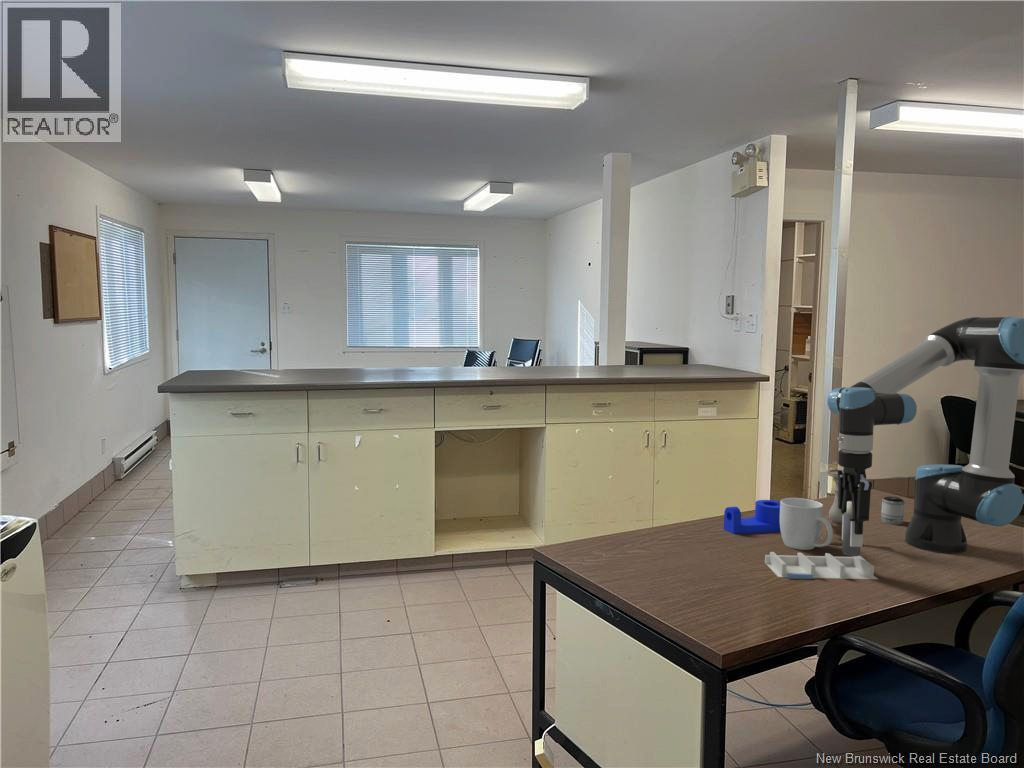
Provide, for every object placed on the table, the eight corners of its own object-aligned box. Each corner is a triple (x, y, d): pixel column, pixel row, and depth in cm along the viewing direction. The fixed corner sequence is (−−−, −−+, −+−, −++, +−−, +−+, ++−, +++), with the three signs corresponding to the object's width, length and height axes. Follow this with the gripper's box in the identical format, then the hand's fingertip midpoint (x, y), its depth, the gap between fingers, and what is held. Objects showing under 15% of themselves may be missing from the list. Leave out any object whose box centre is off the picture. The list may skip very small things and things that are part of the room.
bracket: (772, 522, 218) (773, 498, 218) (792, 531, 210) (793, 506, 209) (719, 527, 212) (720, 503, 211) (737, 536, 204) (738, 511, 203)
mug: (842, 554, 188) (845, 507, 187) (818, 562, 182) (821, 513, 181) (793, 539, 200) (795, 495, 199) (769, 546, 194) (771, 500, 193)
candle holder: (856, 548, 194) (860, 476, 192) (822, 544, 197) (826, 474, 195) (852, 538, 202) (856, 470, 200) (819, 535, 205) (823, 468, 203)
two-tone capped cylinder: (855, 550, 174) (857, 500, 173) (863, 556, 170) (865, 504, 169) (839, 550, 175) (841, 500, 173) (846, 556, 171) (848, 504, 169)
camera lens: (876, 519, 222) (877, 495, 221) (894, 519, 223) (896, 495, 222) (889, 525, 216) (890, 500, 215) (907, 524, 217) (909, 500, 216)
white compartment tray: (859, 568, 178) (859, 553, 177) (879, 584, 167) (880, 568, 167) (764, 566, 178) (765, 551, 178) (779, 582, 168) (780, 566, 167)
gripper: (825, 444, 178) (822, 532, 181) (855, 457, 162) (852, 554, 164) (854, 443, 178) (851, 532, 181) (888, 457, 161) (884, 554, 164)
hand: (851, 542), depth 172 cm, fingers closed on two-tone capped cylinder, 4 cm apart
